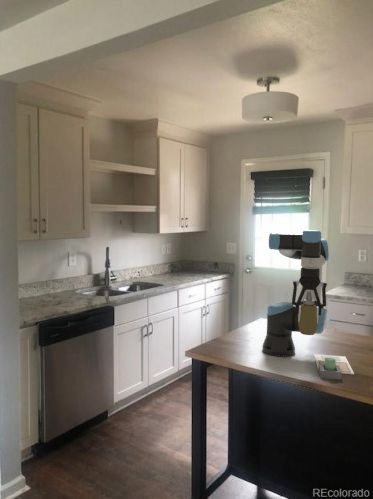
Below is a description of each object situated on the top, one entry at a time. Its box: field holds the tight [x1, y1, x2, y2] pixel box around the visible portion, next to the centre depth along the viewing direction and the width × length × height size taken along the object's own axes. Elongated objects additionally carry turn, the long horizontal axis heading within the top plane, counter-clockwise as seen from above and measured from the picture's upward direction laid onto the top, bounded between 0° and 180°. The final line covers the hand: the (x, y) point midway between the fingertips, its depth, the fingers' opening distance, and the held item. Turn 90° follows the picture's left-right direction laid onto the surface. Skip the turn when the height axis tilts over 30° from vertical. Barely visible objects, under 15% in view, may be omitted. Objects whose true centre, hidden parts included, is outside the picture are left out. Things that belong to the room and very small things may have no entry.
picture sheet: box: [313, 353, 355, 375], centre depth 185 cm, size 14×21×1 cm, turn 169°
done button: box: [324, 358, 336, 371], centre depth 172 cm, size 4×4×5 cm
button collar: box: [317, 364, 343, 381], centre depth 172 cm, size 8×8×3 cm
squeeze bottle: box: [298, 291, 318, 336], centre depth 177 cm, size 8×8×18 cm
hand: (307, 321), depth 177 cm, fingers closed on squeeze bottle, 6 cm apart
